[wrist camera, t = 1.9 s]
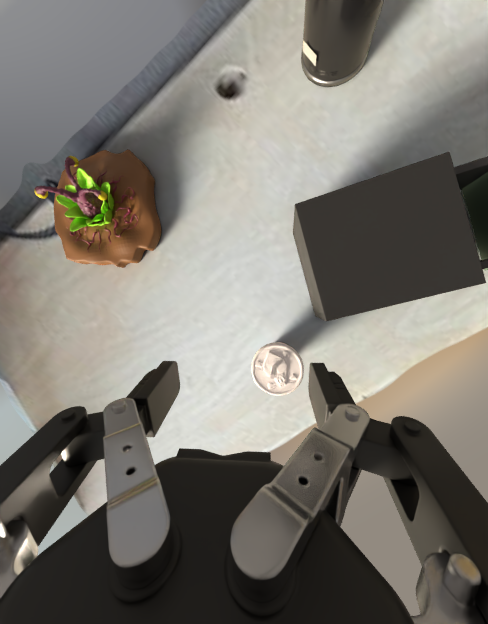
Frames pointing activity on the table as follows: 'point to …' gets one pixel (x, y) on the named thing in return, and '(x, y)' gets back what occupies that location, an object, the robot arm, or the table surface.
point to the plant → (105, 209)
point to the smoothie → (277, 369)
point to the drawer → (476, 201)
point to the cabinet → (387, 240)
